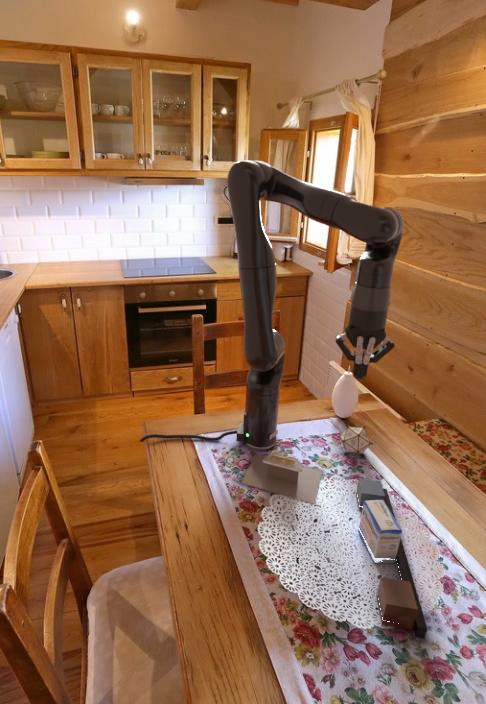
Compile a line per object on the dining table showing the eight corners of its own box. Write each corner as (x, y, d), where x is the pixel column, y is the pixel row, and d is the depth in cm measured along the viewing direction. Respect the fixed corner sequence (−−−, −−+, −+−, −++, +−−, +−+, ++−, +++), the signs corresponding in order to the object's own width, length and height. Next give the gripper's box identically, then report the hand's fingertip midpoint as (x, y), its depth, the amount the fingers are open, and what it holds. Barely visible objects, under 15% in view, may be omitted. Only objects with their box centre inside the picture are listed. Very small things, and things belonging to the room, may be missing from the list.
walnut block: (381, 624, 69) (386, 603, 67) (376, 596, 74) (380, 576, 72) (412, 630, 68) (418, 609, 67) (405, 601, 73) (410, 581, 71)
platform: (255, 454, 111) (256, 433, 109) (322, 471, 105) (324, 450, 103) (241, 483, 100) (242, 461, 98) (314, 504, 94) (317, 481, 92)
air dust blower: (331, 421, 126) (337, 369, 120) (328, 408, 134) (335, 358, 128) (357, 424, 125) (365, 372, 119) (353, 411, 132) (360, 360, 126)
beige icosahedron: (354, 459, 115) (374, 431, 115) (362, 470, 107) (384, 439, 106) (327, 441, 116) (348, 412, 116) (333, 449, 107) (355, 418, 107)
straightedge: (414, 637, 67) (417, 626, 66) (378, 496, 97) (379, 487, 96) (424, 639, 67) (427, 628, 66) (385, 497, 97) (386, 488, 96)
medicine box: (357, 531, 87) (363, 499, 84) (377, 530, 88) (383, 498, 85) (373, 564, 80) (380, 531, 77) (395, 563, 80) (403, 529, 77)
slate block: (358, 510, 93) (361, 493, 91) (355, 494, 97) (358, 477, 96) (381, 513, 92) (385, 496, 90) (377, 497, 97) (380, 480, 95)
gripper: (398, 301, 89) (385, 372, 95) (336, 297, 91) (327, 367, 97) (407, 312, 82) (392, 388, 88) (339, 307, 84) (330, 382, 90)
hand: (358, 377), depth 92 cm, fingers closed
